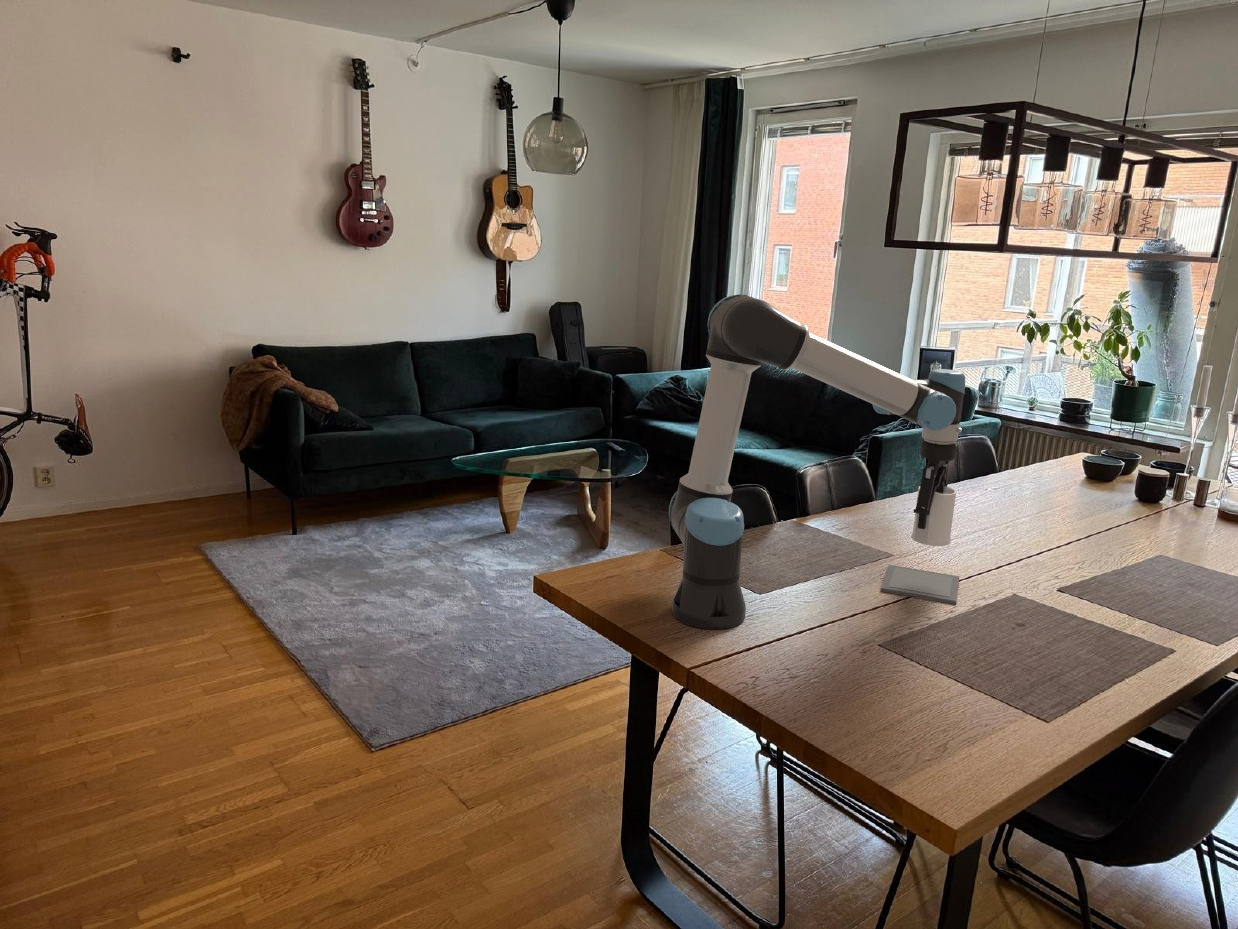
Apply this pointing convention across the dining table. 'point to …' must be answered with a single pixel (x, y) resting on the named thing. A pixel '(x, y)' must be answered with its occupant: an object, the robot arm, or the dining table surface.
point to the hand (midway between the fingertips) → (927, 534)
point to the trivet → (921, 584)
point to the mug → (940, 518)
